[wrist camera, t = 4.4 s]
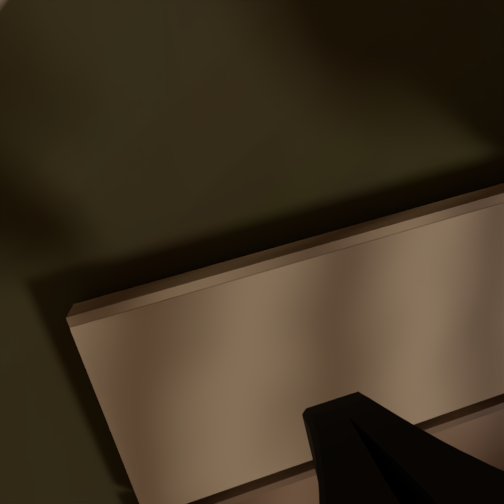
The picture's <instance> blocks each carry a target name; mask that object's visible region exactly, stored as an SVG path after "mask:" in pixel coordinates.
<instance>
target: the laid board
mask: <svg viewBox="0 0 504 504" xmlns="http://www.w3.org/2000/svg"><path fill="white" fill-rule="evenodd" d="M414 425H415V426H417V427H418V428H420V429H422V430H424V431H426V432H427V433H429V434H431V435H433V436H435V437H436V438H438V439H440V440H442V441H444V442H445V443H447V444H449V445H451V446H453V447H455V448H457V449H459V450H461V451H463V452H465V453H467V454H469V455H471V456H473V457H475V458H477V459H479V460H481V461H483V462H485V463H488V464H490V465H492V466H494V467H496V468H498V469H500V470H503V471H504V393H503V394H500V395H498V396H495V397H492V398H489V399H486V400H483V401H480V402H477V403H474V404H472V405H469V406H466V407H463V408H460V409H457V410H454V411H451V412H449V413H446V414H443V415H440V416H437V417H434V418H431V419H428V420H426V421H423V422H420V423H417V424H414ZM187 504H319V486H318V479H317V475H316V471H315V467H314V463H313V460H311V461H308V462H305V463H302V464H299V465H296V466H293V467H290V468H288V469H285V470H282V471H279V472H276V473H273V474H270V475H267V476H265V477H262V478H259V479H256V480H253V481H250V482H247V483H244V484H242V485H239V486H236V487H233V488H230V489H227V490H224V491H221V492H219V493H216V494H213V495H210V496H207V497H204V498H201V499H198V500H195V501H193V502H190V503H187Z"/></svg>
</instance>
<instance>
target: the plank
mask: <svg viewBox="0 0 504 504" xmlns="http://www.w3.org/2000/svg"><path fill="white" fill-rule="evenodd" d="M66 320H67V322H68V325H69V327H70V330H71V333H72V335H73V338H74V340H75V343H76V345H77V348H78V351H79V353H80V356H81V358H82V361H83V363H84V366H85V368H86V371H87V373H88V376H89V378H90V381H91V383H92V386H93V388H94V391H95V393H96V396H97V398H98V401H99V403H100V406H101V408H102V411H103V413H104V416H105V418H106V421H107V423H108V426H109V429H110V431H111V434H112V436H113V439H114V441H115V444H116V446H117V449H118V451H119V454H120V456H121V459H122V461H123V464H124V466H125V469H126V471H127V474H128V476H129V479H130V481H131V484H132V486H133V489H134V491H135V494H136V496H137V499H138V501H139V504H187V503H190V502H193V501H195V500H198V499H201V498H204V497H207V496H210V495H213V494H216V493H219V492H221V491H224V490H227V489H230V488H233V487H236V486H239V485H242V484H244V483H247V482H250V481H253V480H256V479H259V478H262V477H265V476H267V475H270V474H273V473H276V472H279V471H282V470H285V469H288V468H290V467H293V466H296V465H299V464H302V463H305V462H308V461H311V460H313V458H312V454H311V450H310V446H309V442H308V437H307V433H306V429H305V425H304V421H303V416H302V414H303V412H304V411H305V409H306V408H309V407H312V406H315V405H318V404H321V403H324V402H327V401H330V400H333V399H336V398H339V397H343V396H346V395H349V394H352V393H355V392H360V393H362V394H363V395H365V396H367V397H368V398H370V399H372V400H373V401H375V402H377V403H378V404H380V405H382V406H383V407H385V408H386V409H388V410H390V411H391V412H393V413H395V414H396V415H398V416H400V417H401V418H403V419H405V420H406V421H408V422H410V423H411V424H413V425H414V424H417V423H420V422H423V421H426V420H428V419H431V418H434V417H437V416H440V415H443V414H446V413H449V412H451V411H454V410H457V409H460V408H463V407H466V406H469V405H472V404H474V403H477V402H480V401H483V400H486V399H489V398H492V397H495V396H498V395H500V394H503V393H504V183H502V184H498V185H495V186H491V187H488V188H484V189H480V190H477V191H473V192H470V193H466V194H463V195H459V196H456V197H452V198H449V199H445V200H441V201H438V202H434V203H431V204H427V205H424V206H420V207H417V208H413V209H410V210H406V211H402V212H399V213H395V214H392V215H388V216H385V217H381V218H378V219H374V220H370V221H367V222H363V223H360V224H356V225H353V226H349V227H346V228H342V229H339V230H335V231H331V232H328V233H324V234H321V235H317V236H314V237H310V238H307V239H303V240H299V241H296V242H292V243H289V244H285V245H282V246H278V247H275V248H271V249H268V250H264V251H260V252H257V253H253V254H250V255H246V256H243V257H239V258H236V259H232V260H229V261H225V262H221V263H218V264H214V265H211V266H207V267H204V268H200V269H197V270H193V271H189V272H186V273H182V274H179V275H175V276H172V277H168V278H165V279H161V280H158V281H154V282H150V283H147V284H143V285H140V286H136V287H133V288H129V289H126V290H122V291H118V292H115V293H111V294H108V295H104V296H101V297H97V298H94V299H90V300H87V301H83V302H79V303H76V304H73V306H72V308H71V309H70V311H69V313H68V315H67V316H66Z"/></svg>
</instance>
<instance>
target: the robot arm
mask: <svg viewBox="0 0 504 504" xmlns="http://www.w3.org/2000/svg"><path fill="white" fill-rule="evenodd" d="M302 416H303V421H304V425H305V429H306V433H307V437H308V442H309V446H310V450H311V454H312V458H313V463H314V467H315V471H316V475H317V479H318V486H319V504H504V471H503V470H500V469H498V468H496V467H494V466H492V465H490V464H488V463H485V462H483V461H481V460H479V459H477V458H475V457H473V456H471V455H469V454H467V453H465V452H463V451H461V450H459V449H457V448H455V447H453V446H451V445H449V444H447V443H445V442H444V441H442V440H440V439H438V438H436V437H435V436H433V435H431V434H429V433H427V432H426V431H424V430H422V429H420V428H418V427H417V426H415V425H413V424H411V423H410V422H408V421H406V420H405V419H403V418H401V417H400V416H398V415H396V414H395V413H393V412H391V411H390V410H388V409H386V408H385V407H383V406H382V405H380V404H378V403H377V402H375V401H373V400H372V399H370V398H368V397H367V396H365V395H363V394H362V393H360V392H355V393H352V394H349V395H346V396H343V397H339V398H336V399H333V400H330V401H327V402H324V403H321V404H318V405H315V406H312V407H309V408H306V409H305V411H304V412H303V414H302Z"/></svg>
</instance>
